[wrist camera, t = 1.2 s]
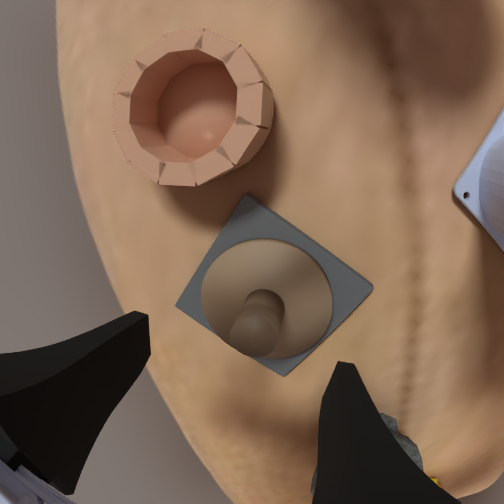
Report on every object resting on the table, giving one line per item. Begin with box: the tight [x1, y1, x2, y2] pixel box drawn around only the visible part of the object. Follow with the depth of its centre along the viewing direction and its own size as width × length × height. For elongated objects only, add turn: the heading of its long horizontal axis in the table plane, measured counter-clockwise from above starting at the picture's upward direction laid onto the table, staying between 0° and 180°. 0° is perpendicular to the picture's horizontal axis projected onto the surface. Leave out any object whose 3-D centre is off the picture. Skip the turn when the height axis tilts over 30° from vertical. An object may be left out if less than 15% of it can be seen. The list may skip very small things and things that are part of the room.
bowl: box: [112, 28, 274, 186], centre depth 15 cm, size 8×8×4 cm
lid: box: [201, 238, 332, 359], centre depth 18 cm, size 9×9×4 cm
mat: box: [175, 193, 374, 377], centre depth 21 cm, size 10×10×1 cm
